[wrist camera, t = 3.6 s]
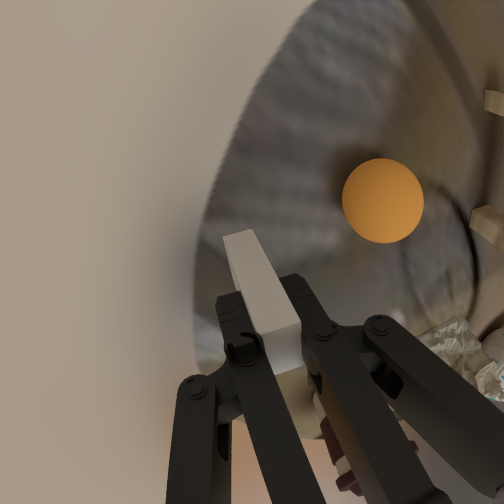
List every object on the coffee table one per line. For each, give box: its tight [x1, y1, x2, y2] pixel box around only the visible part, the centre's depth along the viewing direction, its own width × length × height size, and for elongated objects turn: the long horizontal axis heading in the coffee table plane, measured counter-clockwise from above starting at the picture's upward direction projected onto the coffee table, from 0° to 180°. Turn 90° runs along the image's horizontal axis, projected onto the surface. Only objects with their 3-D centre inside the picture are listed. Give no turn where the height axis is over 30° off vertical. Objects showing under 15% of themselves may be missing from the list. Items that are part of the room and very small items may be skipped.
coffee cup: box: [313, 392, 419, 496], centre depth 30 cm, size 10×10×15 cm
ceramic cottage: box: [416, 316, 504, 401], centre depth 35 cm, size 16×16×15 cm
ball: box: [342, 158, 424, 243], centre depth 19 cm, size 6×6×6 cm
